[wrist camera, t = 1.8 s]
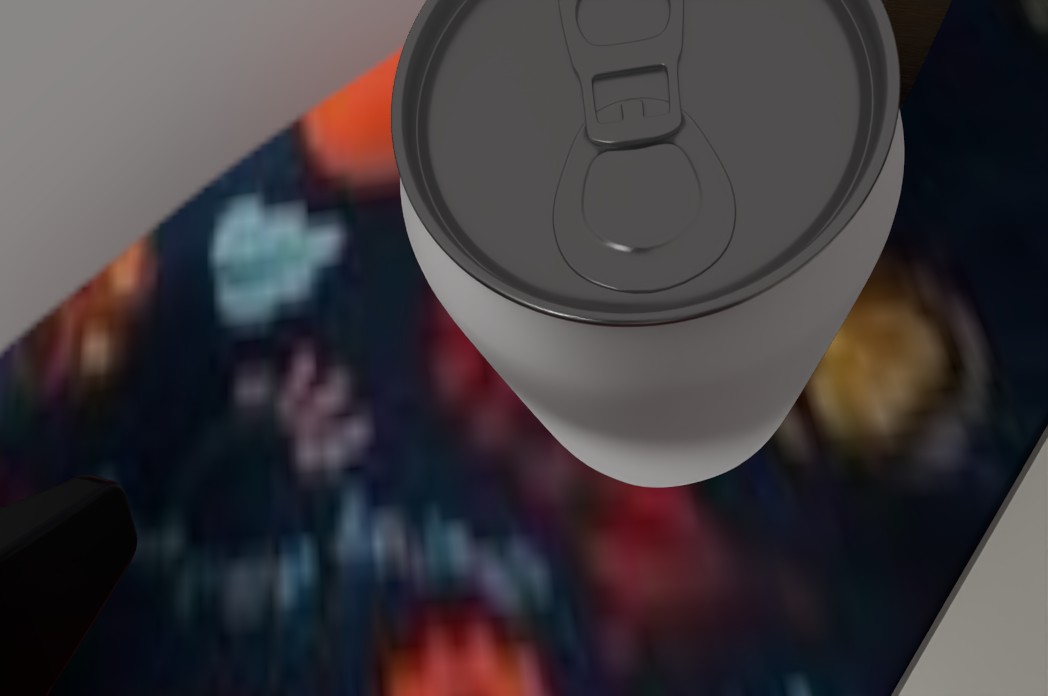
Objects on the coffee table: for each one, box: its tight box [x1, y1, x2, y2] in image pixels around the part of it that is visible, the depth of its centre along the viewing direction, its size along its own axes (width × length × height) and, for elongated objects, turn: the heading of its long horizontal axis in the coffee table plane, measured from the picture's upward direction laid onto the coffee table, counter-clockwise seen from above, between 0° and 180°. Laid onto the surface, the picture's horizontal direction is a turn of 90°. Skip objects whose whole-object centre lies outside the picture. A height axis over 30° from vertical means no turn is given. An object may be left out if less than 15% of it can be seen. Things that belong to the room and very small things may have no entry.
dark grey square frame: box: [882, 0, 952, 113], centre depth 18 cm, size 2×8×8 cm, turn 77°
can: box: [391, 0, 904, 487], centre depth 15 cm, size 6×6×12 cm
